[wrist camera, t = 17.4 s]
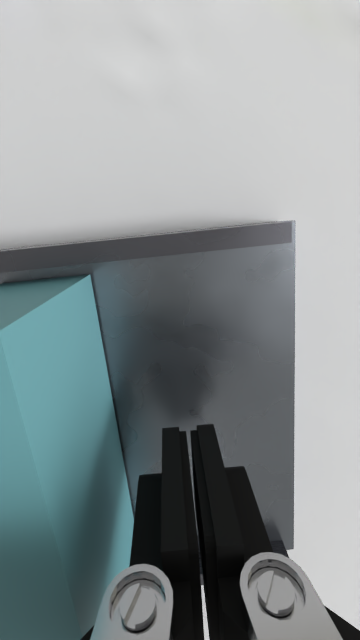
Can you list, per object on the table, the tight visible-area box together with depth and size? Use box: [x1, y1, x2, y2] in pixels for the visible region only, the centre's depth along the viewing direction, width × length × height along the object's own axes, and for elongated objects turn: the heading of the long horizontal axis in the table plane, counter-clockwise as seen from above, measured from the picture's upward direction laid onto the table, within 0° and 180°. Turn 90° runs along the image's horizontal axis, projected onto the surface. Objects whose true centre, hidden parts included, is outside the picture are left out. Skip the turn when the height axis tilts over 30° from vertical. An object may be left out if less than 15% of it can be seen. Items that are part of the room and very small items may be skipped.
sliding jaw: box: [0, 274, 134, 640], centre depth 9 cm, size 12×3×6 cm, turn 6°
